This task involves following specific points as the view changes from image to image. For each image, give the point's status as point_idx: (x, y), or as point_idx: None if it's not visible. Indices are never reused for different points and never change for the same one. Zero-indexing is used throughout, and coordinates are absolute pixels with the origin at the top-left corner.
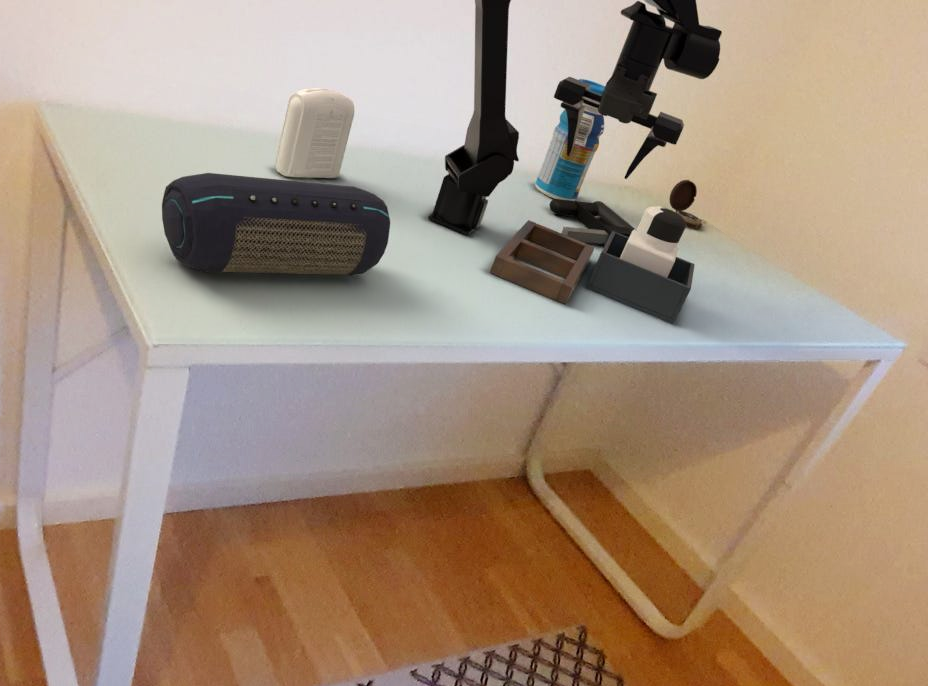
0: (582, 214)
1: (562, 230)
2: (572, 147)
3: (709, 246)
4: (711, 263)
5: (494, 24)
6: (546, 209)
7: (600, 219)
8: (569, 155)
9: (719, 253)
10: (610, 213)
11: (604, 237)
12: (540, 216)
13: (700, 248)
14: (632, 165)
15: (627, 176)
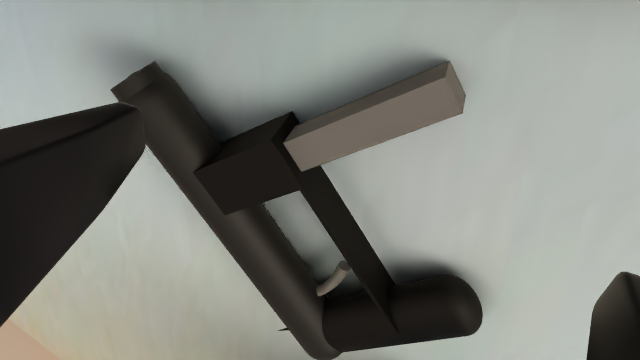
0: (373, 275)
1: (463, 105)
2: (623, 343)
3: (83, 308)
4: None
5: None
6: (487, 304)
7: (315, 284)
8: (613, 283)
9: (59, 285)
10: (285, 294)
11: (298, 132)
12: (524, 236)
13: (92, 288)
14: (30, 141)
15: (110, 108)
